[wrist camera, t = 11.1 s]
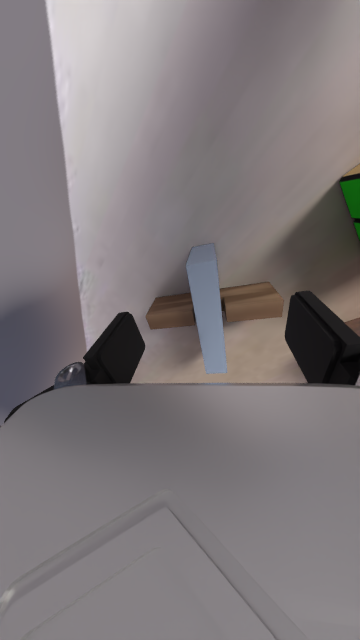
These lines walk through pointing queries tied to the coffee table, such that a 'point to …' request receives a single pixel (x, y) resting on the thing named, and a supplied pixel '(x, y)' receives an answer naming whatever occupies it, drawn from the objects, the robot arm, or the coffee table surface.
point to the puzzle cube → (352, 194)
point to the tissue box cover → (354, 325)
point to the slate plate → (207, 306)
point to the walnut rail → (234, 301)
